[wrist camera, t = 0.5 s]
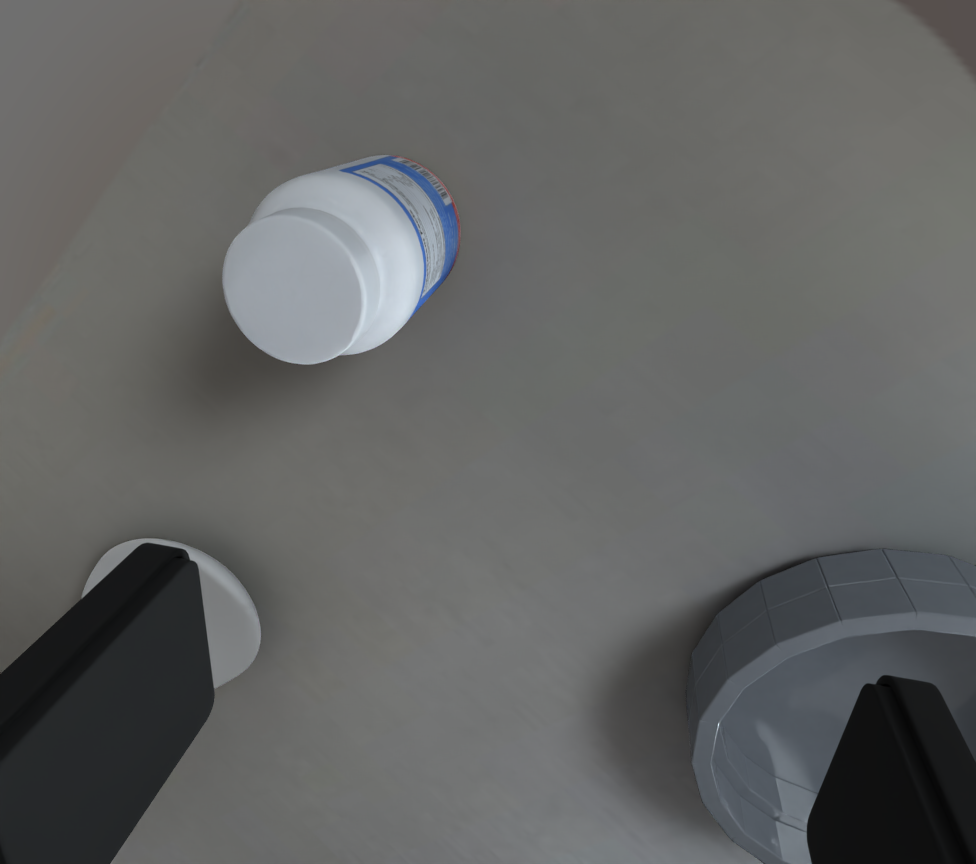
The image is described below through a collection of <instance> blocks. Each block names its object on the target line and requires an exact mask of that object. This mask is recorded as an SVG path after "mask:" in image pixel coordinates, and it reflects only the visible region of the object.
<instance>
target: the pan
mask: <svg viewBox="0 0 976 864" xmlns="http://www.w3.org/2000/svg"><path fill="white" fill-rule="evenodd" d="M883 675H890V676H896V677H901V678H907V679H913V680H918V681H924V682H929V683H932V684H934V685H935V686H936V687H937V688H938V690H939V691H940V693H941V694H942V696H943V698H944V700H945V702H946V704H947V706H948V708H949V710H950V712H951V714H952V716H953V718H954V720H955V722H956V724H957V726H958V728H959V730H960V732H961V734H962V736H963V738H964V740H965V742H966V744H967V746H968V748H969V750H970V752H971V754H972V756H973V758H974V760H975V761H976V566H975V565H973V564H970V563H967V562H965V561H962V560H959V559H957V558H954V557H952V556H947V555H942V554H932V553H922V552H912V551H902V550H893V549H874V550H867V551H860V552H853V553H845V554H838V555H831V556H824V557H818V558H817V559H816V558H814V559H811V560H809V561H807V562H804V563H802V564H799V565H797V566H794V567H792V568H789V569H787V570H784V571H782V572H779V573H777V574H775V575H772V576H770V577H767V578H765V579H762V580H761V581H758V582H757V583H756V584H754V585H753V586H752V587H751V588H749V589H748V590H747V591H746V592H744V593H743V594H742V595H740V596H739V597H738V598H737V599H735V600H734V601H733V602H731V603H730V604H729V605H728V606H726V607H725V608H724V609H723V610H721V611H720V612H719V613H718V614H717V615H716V616H715V618H714V619H713V621H712V623H711V624H710V626H709V627H708V629H707V630H706V632H705V633H704V635H703V637H702V638H701V640H700V641H699V643H698V644H697V646H696V648H695V649H694V651H693V653H692V656H691V662H690V668H689V674H688V680H687V686H686V692H685V693H686V706H687V717H688V729H689V741H690V753H691V763H692V767H693V771H694V775H695V778H696V782H697V786H698V789H699V793H700V797H701V800H702V803H703V804H704V806H705V807H706V808H707V810H708V811H709V812H710V813H711V815H712V816H713V817H714V819H715V820H716V821H717V823H718V824H719V825H720V827H721V828H722V829H723V830H724V832H725V833H726V834H727V836H728V837H729V838H730V839H731V840H732V841H733V842H734V843H736V844H737V845H739V846H740V847H742V848H743V849H744V850H746V851H747V852H749V853H750V854H752V855H753V856H754V857H756V858H757V859H759V860H760V861H761V862H763V863H764V864H812V862H811V858H810V854H809V849H808V844H807V822H808V817H809V814H810V812H811V809H812V807H813V804H814V802H815V800H816V797H817V795H818V792H819V790H820V788H821V785H822V783H823V780H824V778H825V775H826V773H827V771H828V768H829V766H830V763H831V761H832V759H833V756H834V754H835V751H836V749H837V747H838V744H839V742H840V739H841V737H842V734H843V732H844V730H845V727H846V725H847V722H848V720H849V718H850V715H851V713H852V710H853V708H854V706H855V703H856V701H857V698H858V696H859V693H860V691H861V689H862V687H863V686H864V685H865V684H866V683H870V684H876V682H877V681H878V679H879V678H880V677H881V676H883Z"/></svg>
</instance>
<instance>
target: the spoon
mask: <svg viewBox="0 0 976 864" xmlns="http://www.w3.org/2000/svg"><path fill="white" fill-rule="evenodd" d="M147 542H149V543H154V544H160V545H165V546H171V547H177V548H182V549H184V550H186V551H187V553H188V554H189V558H190V560H192V561H195V562H196V563H197V565H198V568H199V575H200V583H201V591H202V599H203V607H204V614H205V622H206V630H207V638H208V646H209V653H210V661H211V669H212V677H213V685H214V689H215V688H217V687H219V686H221V685H223V684H225V683H227V682H228V681H230V680H232V679H233V678H235V677H236V676H238V675H239V674H241V673H242V672H243V671H245V670H246V669H247V668H248V667H249V666H250V665H251V663H252V662H253V660H254V659H255V657H256V655H257V653H258V650H259V647H260V642H261V627H260V621H259V616H258V613H257V610H256V607H255V605H254V603H253V601H252V599H251V598H250V596H249V594H248V592H247V591H246V589H245V587H244V586H243V585H242V584H241V582H240V581H239V580H238V579H237V578H236V576H235V575H234V574H233V573H232V572H231V571H230V570H229V569H227V568H226V567H225V566H224V565H223V564H221V563H220V562H219V561H217V560H216V559H215V558H213V557H211V556H210V555H208V554H206V553H204V552H202V551H201V550H199V549H196V548H194V547H191V546H188V545H185V544H183V543H180V542H176V541H172V540H167V539H155V538H144V539H135V540H130V541H127V542H124V543H121V544H119V545H117V546H115V547H113V548H112V549H110V550H109V551H108V552H107V553H106V554H105V555H104V556H103V557H102V558H101V559H100V560H99V562H98V563H97V565H96V566H95V568H94V569H93V571H92V573H91V575H90V577H89V578H88V580H87V583H86V585H85V587H84V590H83V593H82V597H81V599H82V598H83V597H84V596H85V595H86V594H87V593H88V592H89V591H90V590H92V589H93V588H94V587H95V586H96V585H97V584H98V583H99V582H100V581H101V580H102V579H103V578H104V577H106V576H107V575H108V574H109V573H110V572H111V571H112V570H113V569H114V568H115V567H116V566H117V565H118V564H120V563H121V562H122V561H123V560H124V559H125V558H126V557H127V556H128V555H129V554H130V553H131V552H132V551H134V550H135V549H136V548H137V547H138V546H140V545H141V544H142V543H147Z"/></svg>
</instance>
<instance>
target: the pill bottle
mask: <svg viewBox="0 0 976 864" xmlns="http://www.w3.org/2000/svg"><path fill="white" fill-rule="evenodd" d="M460 239H461V227H460V219H459V214H458V210H457V207H456V205H455V202H454V200H453V198H452V196H451V194H450V193H449V191H448V189H447V188H446V187H445V185H444V184H443V183H442V182H441V180H440V179H439V178H438V177H437V176H436V175H435V174H433V173H432V172H431V171H430V170H428V169H427V168H425V167H424V166H422V165H421V164H419V163H417V162H415V161H412V160H410V159H407V158H404V157H400V156H394V155H378V156H372V157H367V158H363V159H359V160H356V161H352V162H349V163H345V164H342V165H338V166H335V167H331V168H328V169H324V170H321V171H317V172H313V173H309V174H305V175H302V176H299V177H296V178H293V179H291V180H289V181H287V182H285V183H283V184H281V185H279V186H278V187H276V188H275V189H274V190H273V191H271V192H270V193H269V194H268V195H267V196H266V197H265V198H264V199H263V200H262V202H261V203H260V204H259V205H258V207H257V208H256V210H255V212H254V213H253V215H252V217H251V220H250V222H249V225H248V226H247V227H246V228H244V229H243V230H242V231H241V232H240V233H239V234H238V235H237V236H236V238H235V239H234V240H233V242H232V243H231V245H230V247H229V249H228V251H227V254H226V256H225V260H224V265H223V272H222V284H223V291H224V296H225V301H226V304H227V306H228V309H229V312H230V314H231V316H232V317H233V319H234V321H235V323H236V324H237V326H238V327H239V329H240V330H241V331H242V332H243V334H244V335H245V336H246V337H247V338H248V339H249V340H250V341H251V342H252V343H253V344H254V345H256V346H257V347H258V348H259V349H261V350H262V351H264V352H265V353H267V354H269V355H271V356H273V357H274V358H277V359H279V360H282V361H286V362H290V363H295V364H306V365H307V364H316V363H321V362H325V361H328V360H330V359H333V358H335V357H337V356H338V355H352V354H358V353H362V352H365V351H368V350H371V349H373V348H376V347H377V346H379V345H381V344H383V343H384V342H386V341H387V340H388V339H390V338H391V337H392V336H393V335H394V334H395V333H396V332H398V331H399V330H400V329H401V328H402V327H403V326H404V325H405V323H406V322H407V321H408V320H409V319H410V318H411V317H412V316H413V314H414V313H415V312H416V311H417V310H418V309H419V308H420V307H421V305H422V304H423V303H424V302H425V301H426V300H427V299H428V298H429V297H430V296H431V295H432V294H433V292H434V291H435V290H436V289H437V288H438V287H439V286H440V285H441V284H442V283H443V281H444V280H445V279H446V278H447V276H448V274H449V273H450V271H451V270H452V268H453V266H454V264H455V261H456V259H457V256H458V252H459V247H460Z"/></svg>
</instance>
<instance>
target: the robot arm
mask: <svg viewBox="0 0 976 864" xmlns="http://www.w3.org/2000/svg"><path fill="white" fill-rule="evenodd" d="M213 703H214V685H213V677H212V669H211V661H210V653H209V646H208V638H207V630H206V622H205V614H204V607H203V599H202V591H201V583H200V575H199V568H198V565H197V563H196V562H195V561H192V560H190V558H189V554H188V553H187V551H186V550H184V549H182V548H177V547H171V546H165V545H160V544H154V543H149V542H147V543H142V544H141V545H140V546H138V547H137V548H136V549H135V550H134V551H132V552H131V553H130V554H129V555H128V556H127V557H126V558H125V559H124V560H123V561H122V562H121V563H120V564H118V565H117V566H116V567H115V568H114V569H113V570H112V571H111V572H110V573H109V574H108V575H107V576H106V577H104V578H103V579H102V580H101V581H100V582H99V583H98V584H97V585H96V586H95V587H94V588H93V589H92V590H90V591H89V592H88V593H87V594H86V595H85V596H84V597H83V598H82V599H81V600H80V601H79V602H78V603H76V604H75V605H74V606H73V607H72V608H71V609H70V610H69V611H68V612H67V613H66V614H65V615H64V616H62V617H61V618H60V619H59V620H58V621H57V622H56V623H55V624H54V625H53V626H52V627H51V628H50V629H48V630H47V631H46V632H45V633H44V634H43V635H42V636H41V637H40V638H39V639H38V640H37V641H36V642H34V643H33V644H32V645H31V646H30V647H29V648H28V649H27V650H26V651H25V652H24V653H23V654H22V655H20V656H19V657H18V658H17V659H16V660H15V661H14V662H13V663H12V664H11V665H10V666H9V667H8V668H6V669H5V670H4V671H3V672H2V673H1V674H0V864H110V863H111V861H112V860H113V859H114V857H115V856H116V854H117V853H118V851H119V850H120V848H121V847H122V845H123V844H124V842H125V841H126V839H127V838H128V836H129V835H130V833H131V832H132V830H133V829H134V827H135V826H136V824H137V823H138V821H139V820H140V818H141V817H142V815H143V814H144V812H145V811H146V809H147V808H148V807H149V805H150V804H151V802H152V801H153V799H154V798H155V796H156V795H157V793H158V792H159V790H160V789H161V787H162V786H163V784H164V783H165V781H166V780H167V778H168V777H169V775H170V774H171V772H172V771H173V769H174V768H175V766H176V765H177V763H178V762H179V760H180V759H181V757H182V756H183V755H184V753H185V752H186V750H187V749H188V747H189V746H190V744H191V743H192V741H193V740H194V738H195V737H196V735H197V734H198V732H199V731H200V729H201V728H202V726H203V725H204V723H205V722H206V720H207V718H208V717H209V715H210V712H211V710H212V707H213ZM807 844H808V849H809V854H810V858H811V862H812V864H976V761H975V760H974V758H973V756H972V754H971V752H970V750H969V748H968V746H967V744H966V742H965V740H964V738H963V736H962V734H961V732H960V730H959V728H958V726H957V724H956V722H955V720H954V718H953V716H952V714H951V712H950V710H949V708H948V706H947V704H946V702H945V700H944V698H943V696H942V694H941V693H940V691H939V690H938V688H937V687H936V686H935V685H934V684H932V683H929V682H924V681H918V680H913V679H907V678H901V677H896V676H890V675H883V676H881V677H880V678H879V679H878V681H877V682H876V684H870V683H866V684H865V685H864V686H863V687H862V689H861V691H860V693H859V696H858V698H857V701H856V703H855V706H854V708H853V710H852V713H851V715H850V718H849V720H848V722H847V725H846V727H845V730H844V732H843V734H842V737H841V739H840V742H839V744H838V747H837V749H836V751H835V754H834V756H833V759H832V761H831V763H830V766H829V768H828V771H827V773H826V775H825V778H824V780H823V783H822V785H821V788H820V790H819V792H818V795H817V797H816V800H815V802H814V804H813V807H812V809H811V812H810V814H809V817H808V822H807Z"/></svg>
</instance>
